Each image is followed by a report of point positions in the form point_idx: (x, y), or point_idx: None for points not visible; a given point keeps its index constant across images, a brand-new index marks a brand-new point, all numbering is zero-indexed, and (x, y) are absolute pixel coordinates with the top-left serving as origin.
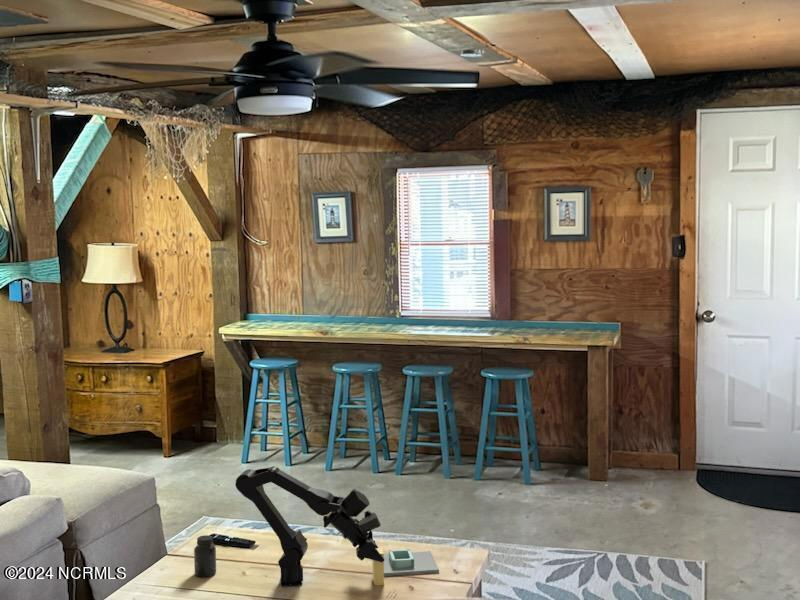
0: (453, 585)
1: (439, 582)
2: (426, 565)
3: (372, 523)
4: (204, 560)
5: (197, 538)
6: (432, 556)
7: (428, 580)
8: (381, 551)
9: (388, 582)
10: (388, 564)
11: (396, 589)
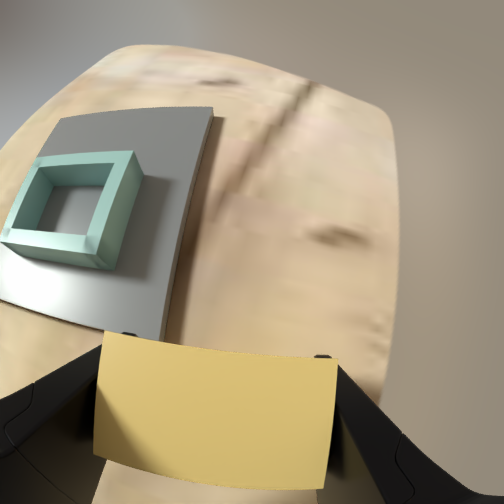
0: (333, 110)
1: (303, 132)
2: (155, 133)
3: None
4: None
5: None
6: (96, 113)
7: (276, 157)
8: (248, 376)
9: (254, 335)
10: (68, 278)
11: (352, 311)
